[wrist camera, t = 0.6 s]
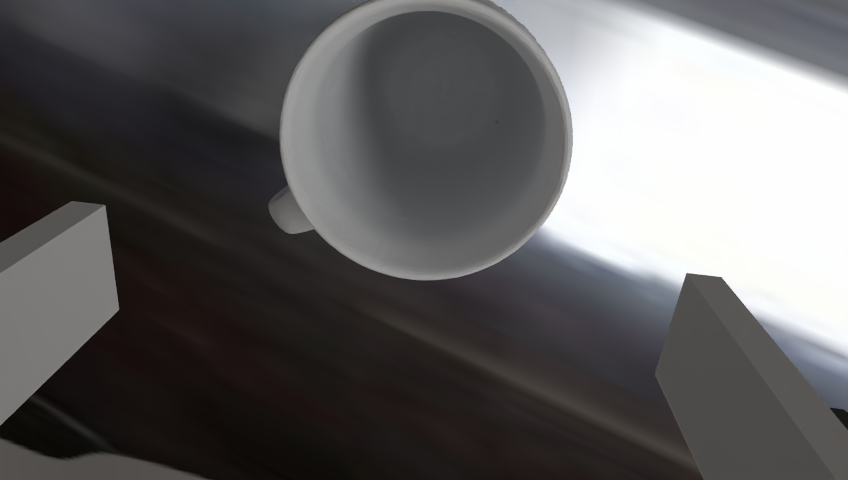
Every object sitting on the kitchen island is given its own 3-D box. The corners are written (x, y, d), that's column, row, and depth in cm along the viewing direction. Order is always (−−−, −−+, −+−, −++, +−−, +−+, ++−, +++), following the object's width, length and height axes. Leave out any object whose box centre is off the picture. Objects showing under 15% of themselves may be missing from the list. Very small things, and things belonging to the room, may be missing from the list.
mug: (366, 243, 38) (316, 365, 26) (256, 97, 35) (141, 162, 23) (576, 116, 34) (630, 194, 22) (472, -64, 31) (470, -86, 19)
